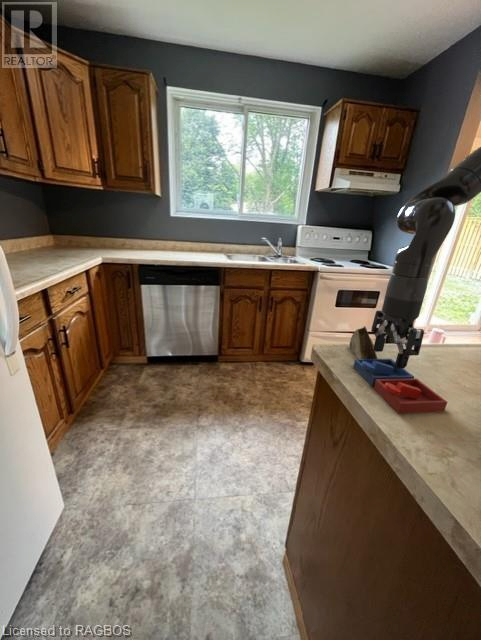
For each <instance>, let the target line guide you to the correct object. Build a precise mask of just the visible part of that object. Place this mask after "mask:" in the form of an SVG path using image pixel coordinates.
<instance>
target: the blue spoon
mask: <svg viewBox="0 0 481 640" xmlns="http://www.w3.org/2000/svg"><path fill="white" fill-rule="evenodd" d="M361 366H362V367H363V368H365V369H366V370H368V371H371V372H373V371H376V372H379V373H382V374H386V375H389V376H390V375H391V373H392V371H393V370H394V368H393V367H392V366H390V365H387V364H384V363H381V362H377V361H373V363H372V364H370V363H368V362H365V361H363V362H362V363H361Z"/></svg>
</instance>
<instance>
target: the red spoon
mask: <svg viewBox="0 0 481 640" xmlns="http://www.w3.org/2000/svg"><path fill="white" fill-rule="evenodd" d="M384 388H385V389H386V390H387V391H388V392H390V393H392V394H394V395H399V394H400V395H403V396H407V397H410V398H414V399H417V398H418V397H419V395H420V394H421V392H422V391H421V390H420V389H419V388H417V387H414V386H410V385H407V384H404V383H400V382H399V383H398V384H397V386H395V385H393V384H390V383H385V385H384Z"/></svg>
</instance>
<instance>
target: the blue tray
mask: <svg viewBox="0 0 481 640" xmlns="http://www.w3.org/2000/svg"><path fill="white" fill-rule="evenodd" d="M363 361H365V362H368V363H370V364H372V363H373V361H377V362H381V363H384V364H387V365H390V366H392V367H393V368H394V370H393V371H392V373H391V375H390V376H389V375H386V374H382V373H379V372H376V371H373V372H371V371H368V370H366V369H365V368H363V367H362V366H361V363H362V362H363ZM395 362H396V360H393V359H392V358H377V359H358V358H355V359H354V361H353V369H354V370H355V371H356V372H357V373H358V374H359V375H360V376H361V377H362V378H363V379H364V380H365V381H366V382H367V383H368V384H369V385H370V386H371V387H374V385H375V381H376V379H413V378H414V379H415V376H414V375H413V374H411V373H410V372H409V371H408V370H407V369H405V368H403V369H397V368H396V367H395Z"/></svg>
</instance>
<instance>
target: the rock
mask: <svg viewBox="0 0 481 640" xmlns="http://www.w3.org/2000/svg"><path fill="white" fill-rule="evenodd" d="M374 344H375V343H374V342H373V341H372V339H371V337H370V334H369V332H368V329H367V327H366V326H365V325H364V326H363V327H361V328H357V329H355V330H354V332H353V333H352V335H351V337H350V341H349V350H350V352H351V353H352V354H353V355H354V356H355V357H356V359H378V356H377V354H376V353H377V352H376V351H374Z"/></svg>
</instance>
